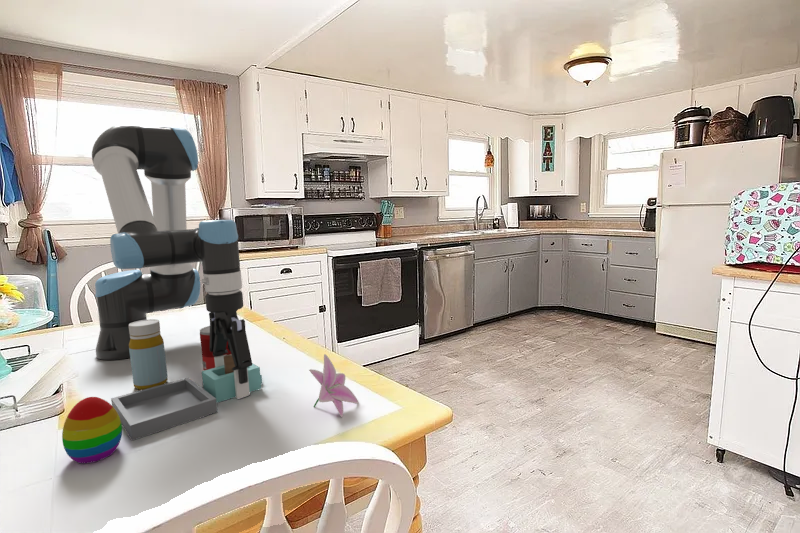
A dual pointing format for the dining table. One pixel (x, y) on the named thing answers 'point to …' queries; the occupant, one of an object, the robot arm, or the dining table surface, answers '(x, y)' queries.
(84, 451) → the decorative egg
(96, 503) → the dining table surface
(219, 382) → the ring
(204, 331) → the canned food
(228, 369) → the post
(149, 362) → the bottle
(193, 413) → the tray
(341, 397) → the lily
